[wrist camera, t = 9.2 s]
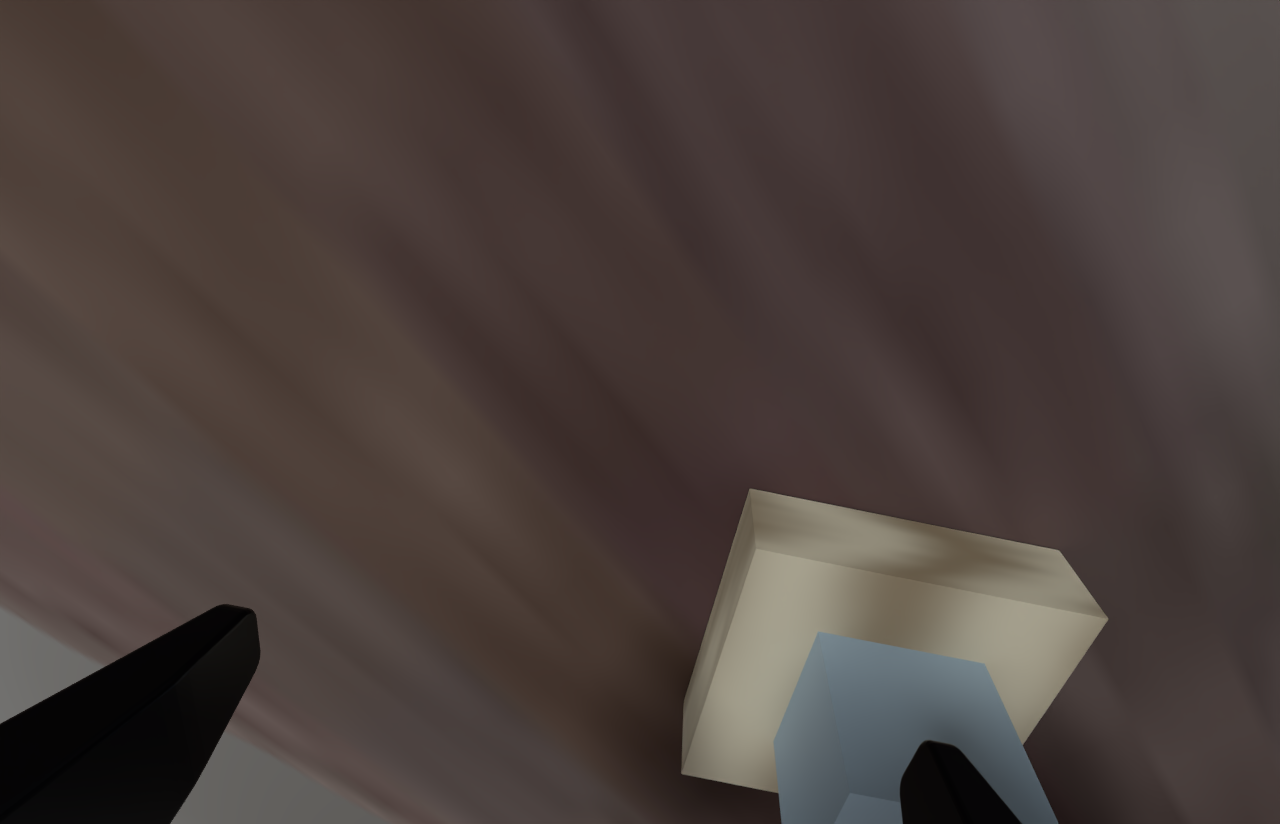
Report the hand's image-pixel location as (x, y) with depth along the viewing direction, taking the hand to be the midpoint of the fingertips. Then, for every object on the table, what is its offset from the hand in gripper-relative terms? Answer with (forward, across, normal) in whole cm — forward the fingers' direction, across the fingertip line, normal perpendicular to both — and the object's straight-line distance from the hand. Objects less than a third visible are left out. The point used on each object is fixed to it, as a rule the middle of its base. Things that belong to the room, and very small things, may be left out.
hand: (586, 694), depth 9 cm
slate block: (+9, -9, +9) cm, 15 cm away
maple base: (+12, -9, +9) cm, 17 cm away
